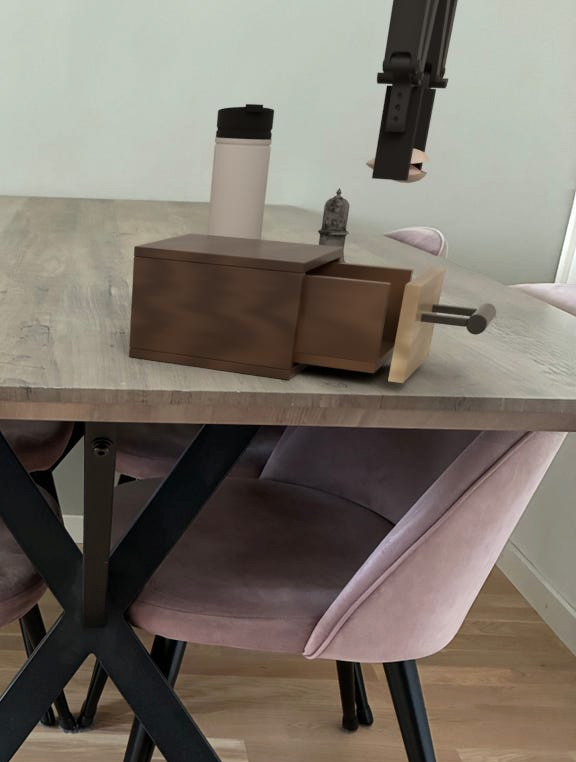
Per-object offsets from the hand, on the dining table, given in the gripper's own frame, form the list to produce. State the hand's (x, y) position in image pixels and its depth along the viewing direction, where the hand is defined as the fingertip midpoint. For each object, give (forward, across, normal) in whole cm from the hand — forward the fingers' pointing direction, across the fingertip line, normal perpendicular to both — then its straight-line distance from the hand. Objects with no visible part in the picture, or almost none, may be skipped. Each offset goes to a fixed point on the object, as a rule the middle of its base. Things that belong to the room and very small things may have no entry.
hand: (396, 177), depth 79 cm
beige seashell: (+1, 0, 0) cm, 1 cm away
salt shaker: (+15, -31, -13) cm, 37 cm away
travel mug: (+15, -25, -22) cm, 37 cm away
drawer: (+14, +5, +1) cm, 15 cm away
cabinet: (+15, +5, -11) cm, 19 cm away
